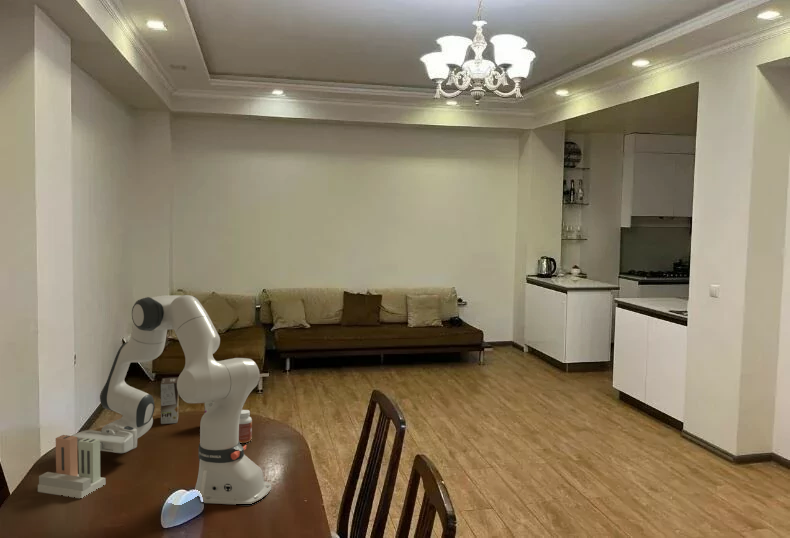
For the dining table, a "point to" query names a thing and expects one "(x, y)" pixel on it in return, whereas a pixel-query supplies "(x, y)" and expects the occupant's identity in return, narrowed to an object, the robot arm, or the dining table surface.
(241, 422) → the pill bottle
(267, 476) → the dining table surface
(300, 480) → the dining table surface
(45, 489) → the tile board
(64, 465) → the orange-brown upright block
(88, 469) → the pale green tall block
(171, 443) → the dining table surface
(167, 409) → the coffee box
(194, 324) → the robot arm
